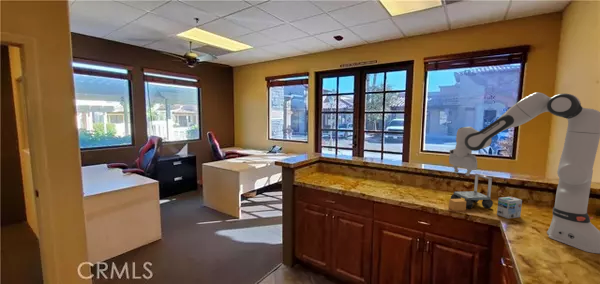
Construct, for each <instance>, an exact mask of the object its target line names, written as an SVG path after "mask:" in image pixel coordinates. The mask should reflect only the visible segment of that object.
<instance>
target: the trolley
mask: <svg viewBox="0 0 600 284" xmlns="http://www.w3.org/2000/svg"><path fill="white" fill-rule="evenodd" d="M474 176H475V177H474V186H473V187H474V188H473V191H472V190H471V191H469V190H468V191H453V194H451V196H450V199H463V200H465V201H466V210H471V209H472V208H474V204H476V203H478V202H479V201H481V205H482V207H484V208H485V209H491V208H492V207H493V206H494V202H493V199H491V198H492V197H491V195H492V194H491V193H492V192H491V191H492V182H493V177H490V176H487V175H483V174H481V173H480V174H479V173H475V174H474ZM479 178H483V179H486V180H488V181H487V182H488V185H487V194H486V195H485V194H483V193H481V192H478V184H479Z"/></svg>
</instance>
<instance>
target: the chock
mask: <svg viewBox="0 0 600 284" xmlns="http://www.w3.org/2000/svg"><path fill="white" fill-rule="evenodd" d="M448 209H450V210H451V211H458V212H459V211H466V210H467V209H466V201H465V199H463V198H461V199H451V198H449V199H448Z"/></svg>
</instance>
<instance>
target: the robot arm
mask: <svg viewBox="0 0 600 284" xmlns="http://www.w3.org/2000/svg"><path fill="white" fill-rule="evenodd" d="M581 104H582V103H581V101H580V99H579V98H578V96H576V95H574V94H570V93H558V94H555V95H553V96H552V97H550V96H548V95H547V94H545V93H543V92H538V91H537V92H533V93H531V94H529V95H528V96H527V95H526V96H525V97H524V98H522V99H520V100H519V101H518V102H516V103H515V104H513V105H512V106H511V107H509V108H508V109H507V110H506V111H504V113H502V115H501V116H499V117H498V118H497V119H496V120H495V121H493V122H491V123H490V124H489V125H487V126H485V127H484V128H482V130H478V129H477V130H476V129H475V128H474V127H472V126H462V127H459V128H458V129H457V132H456V137H455V141H456V142H455V148H454V149H450V150H449V155H448V163H449V165H452V166H453V169H454V173H459V169H458V167H459V168H463V169H466V172H464V173H465V174H464V175H465V177H466V176H467V177H470V175H471V172H472V171H476V170H477V169H478V160H477V159H478V158H477V156H476V154H475V153H474V154H473V152H477V151H480V150H482V149H483V150H484V149H487V148H488V147H489V146H491V144H492V143H493V141H492V138H493V137H495V136H497V135H498V134H501V132H503V131H505V130H508V129H511V128H512V129H513V128H516V127H519V126H521V125H524V124H526V123H528V122H531V120H532V119H535V118H536V117H537V116H539V115H541V114H543V113H550V114H552V115H553V116H556V117H560V118H564V119H566V120H567V129H566V133H565V138H564V143H563V148H562V151H561V155H560V160H559V164H558V167H557V171H556V172H557V173H556V174H557V177H558V184H557V188H556V194H555V200H554V201H555V202H554V206H553V207H552V219H551V222H550V226H549V228H548V230H547V231H546V234H547V236H548V238H549V239H551V240H555V241H557V242H559V243H563V244H565V245H567V246H568V245H569V246H571V247H572V248H576V249H579V250H581V251H584V252H586V253H590V254H591V253H593V254H600V230H599V229H598V228H597V227H596V226H595V225H594V224H592V222H591V220H592V219H593V218H594V216H589V214H588V205H589V197H590V192H591V184H592V179H593V171H594V169H593V168H594V164H595V160H596V156H597V152H598V148H599V143H600V111H599V110H598V109H594V108H585V107H583V106H582V105H581ZM472 151H473V152H472Z"/></svg>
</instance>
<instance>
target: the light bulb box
mask: <svg viewBox="0 0 600 284" xmlns="http://www.w3.org/2000/svg"><path fill="white" fill-rule="evenodd" d="M497 198H498V201H497V208H496V209H497V212H496V215H497V216H500V217H501V218H505V219H515V218H521V216H522V215H521V214H522V206H523V205H522V204H523V199H520V198H517V197H513V196H504V197H497Z"/></svg>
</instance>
